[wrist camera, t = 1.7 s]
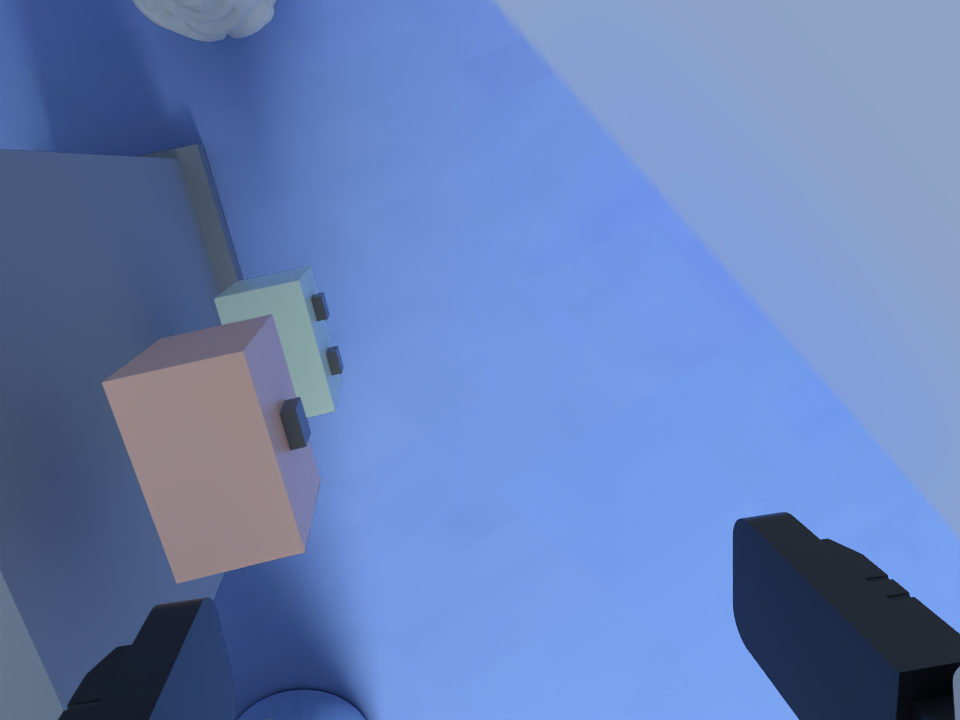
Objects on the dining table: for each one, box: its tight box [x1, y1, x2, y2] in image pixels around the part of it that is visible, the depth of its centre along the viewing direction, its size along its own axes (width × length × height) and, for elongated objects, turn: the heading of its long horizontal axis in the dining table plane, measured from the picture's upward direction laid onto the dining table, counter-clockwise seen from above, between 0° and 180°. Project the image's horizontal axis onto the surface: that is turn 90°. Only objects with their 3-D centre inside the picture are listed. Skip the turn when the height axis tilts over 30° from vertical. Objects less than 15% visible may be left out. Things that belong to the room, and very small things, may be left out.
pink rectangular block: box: [102, 314, 321, 583], centre depth 18 cm, size 3×5×4 cm
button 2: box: [214, 265, 343, 418], centre depth 27 cm, size 3×5×4 cm
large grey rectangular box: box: [0, 144, 243, 720], centre depth 26 cm, size 8×17×24 cm, turn 11°
